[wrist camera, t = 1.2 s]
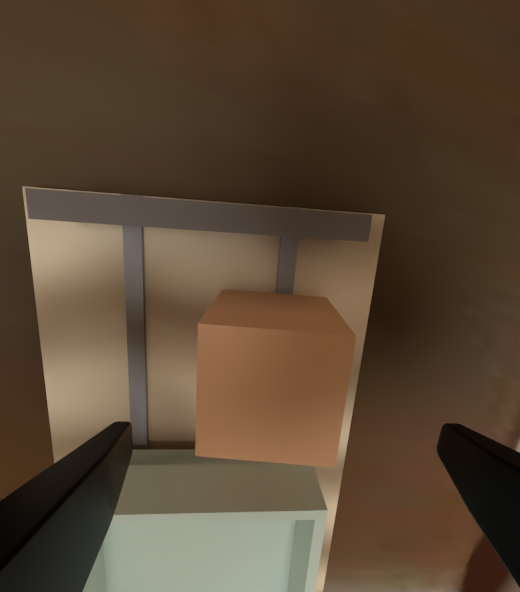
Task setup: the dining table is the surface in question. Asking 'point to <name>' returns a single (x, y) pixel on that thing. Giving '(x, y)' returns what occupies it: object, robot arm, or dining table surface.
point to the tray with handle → (212, 527)
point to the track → (175, 303)
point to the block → (272, 378)
